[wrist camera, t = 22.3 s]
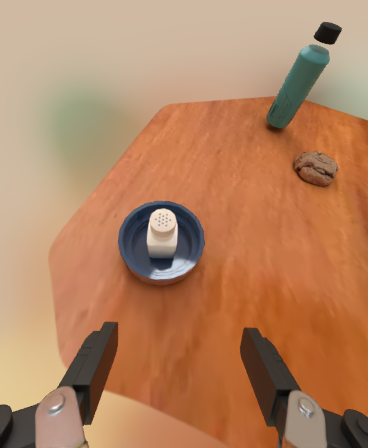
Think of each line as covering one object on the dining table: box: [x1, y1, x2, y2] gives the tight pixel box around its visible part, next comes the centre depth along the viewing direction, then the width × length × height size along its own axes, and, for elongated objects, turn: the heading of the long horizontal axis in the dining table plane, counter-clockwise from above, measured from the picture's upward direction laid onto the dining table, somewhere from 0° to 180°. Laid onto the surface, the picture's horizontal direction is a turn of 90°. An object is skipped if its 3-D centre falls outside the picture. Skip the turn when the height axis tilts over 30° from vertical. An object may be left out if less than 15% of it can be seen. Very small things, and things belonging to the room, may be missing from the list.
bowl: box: [118, 201, 205, 285], centre depth 28 cm, size 12×12×5 cm
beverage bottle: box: [267, 22, 342, 128], centre depth 42 cm, size 6×7×20 cm
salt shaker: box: [147, 209, 178, 259], centre depth 25 cm, size 4×4×10 cm
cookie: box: [294, 151, 338, 186], centre depth 43 cm, size 10×11×3 cm
